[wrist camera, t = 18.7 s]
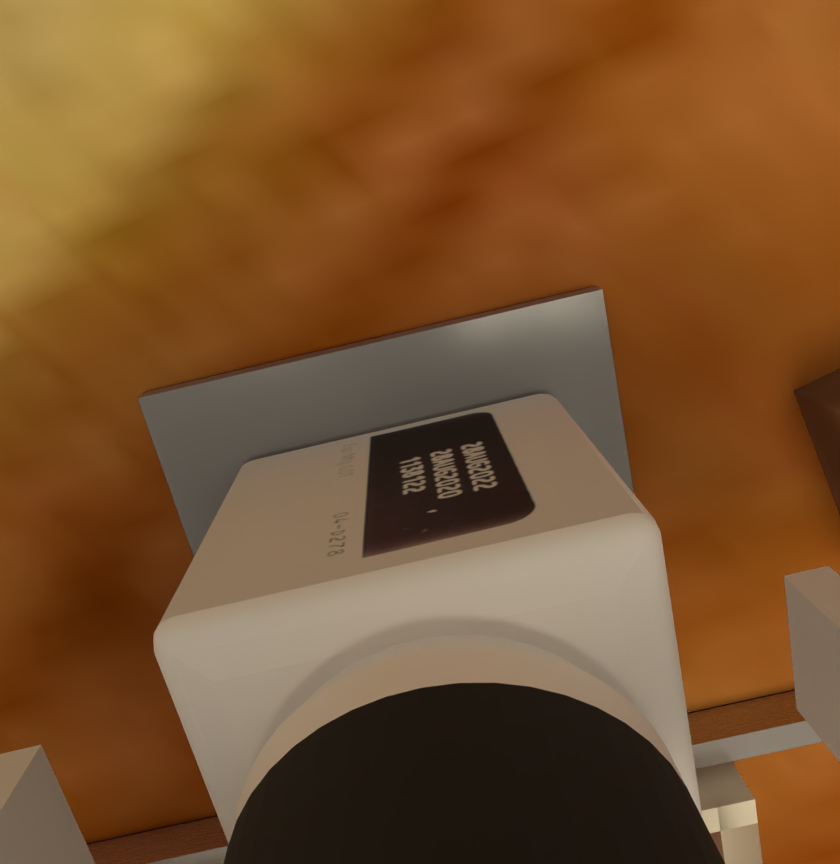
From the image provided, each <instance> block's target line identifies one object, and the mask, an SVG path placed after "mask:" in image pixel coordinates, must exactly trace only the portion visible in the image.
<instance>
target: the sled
mask: <svg viewBox="0 0 840 864" xmlns="http://www.w3.org/2000/svg"><path fill="white" fill-rule="evenodd" d="M695 770H696V777H697V783H698V790H699V797H700V804H701V811H702V817H703V821H704V823H705V825H706V826H707V828H708V830H709V832H710V834H711V836H712V838H713V840H714V842H715V844H716V846H717V848H718V850H719V852H720V854H721V856H722V858H723V860H724V862H725V864H763V863H762V855H761V847H760V838H759V830H758V821H757V813H756V804H755V799H754V797H753V795H752V794H751V792H750V790H749V789H748V787H747V785H746V784H745V782H744V780H743V779H742V777H741V775H740V774H739V772H738V770H737V769H736V767H735V766H734V764H733V762H732V761H730V762H726V763H721V764H717V765H712V766H707V767H703V768H698V769H695Z"/></svg>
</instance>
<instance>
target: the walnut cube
mask: <svg viewBox="0 0 840 864" xmlns="http://www.w3.org/2000/svg"><path fill="white" fill-rule="evenodd" d="M794 393H795V396H796V398H797V401H798V404H799V406H800V409H801V412H802V414H803V417H804V420H805V422H806V425H807V428H808V431H809V433H810V436H811V439H812V441H813V444H814V447H815V449H816V452H817V455H818V457H819V460H820V463H821V465H822V468H823V471H824V473H825V476H826V479H827V481H828V484H829V487H830V490H831V492H832V495H833V498H834V500H835V503H836V506H837V508H838V511H839V514H840V369H838V370H836V371H834V372H832V373H830V374H828V375H826V376H823V377H821V378H819V379H817V380H815V381H813V382H811V383H809V384H807V385H805V386H803V387H801V388H799V389H797V390H795V391H794Z"/></svg>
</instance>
